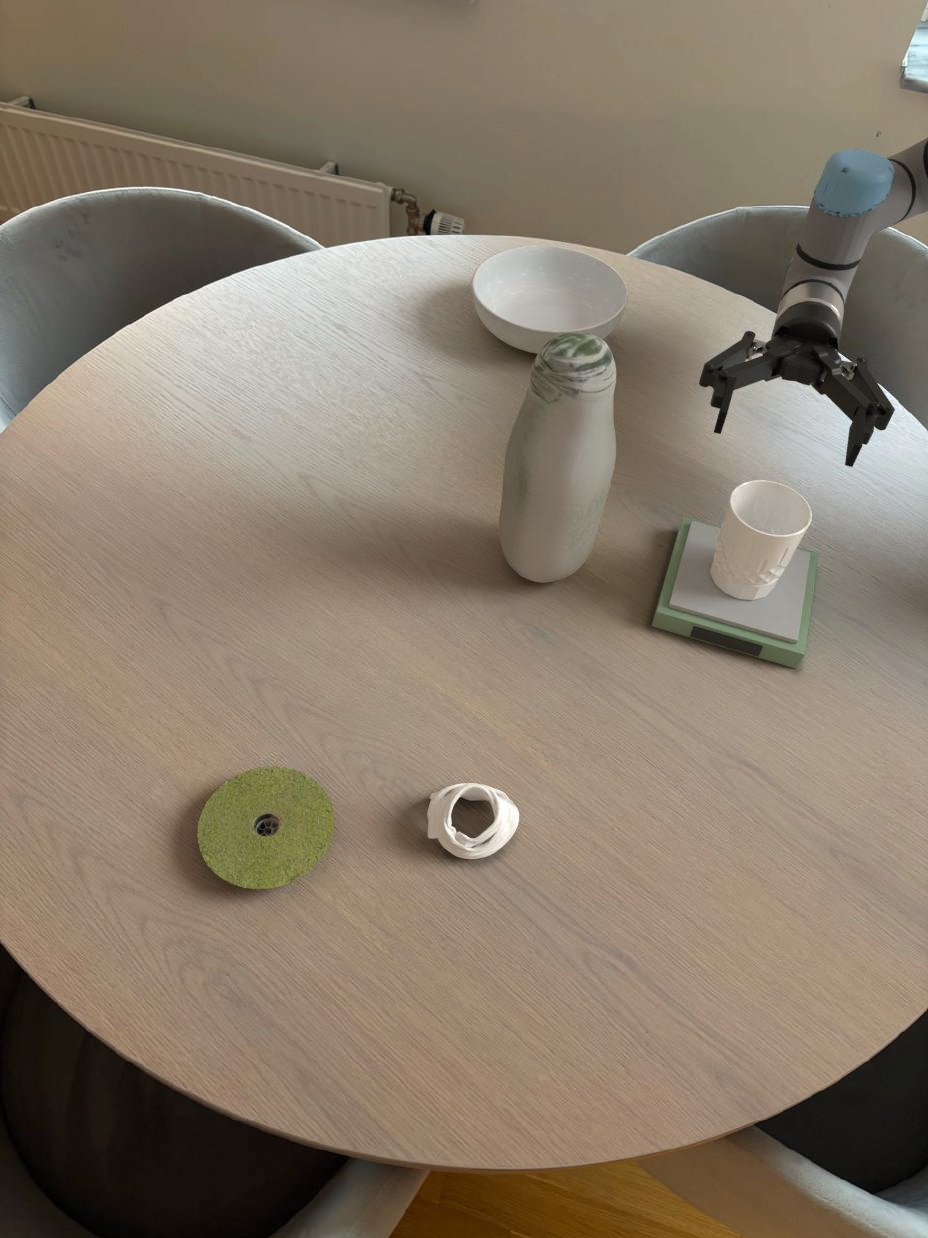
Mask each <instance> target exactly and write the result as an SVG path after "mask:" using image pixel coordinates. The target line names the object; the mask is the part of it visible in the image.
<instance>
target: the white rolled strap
mask: <svg viewBox="0 0 928 1238" xmlns="http://www.w3.org/2000/svg"><path fill="white" fill-rule="evenodd" d="M459 798H463V799H464V800H467V801H472V802H473V801H487V802H489V804H490V805H491V806H490V807H491V808H492V811H493V812H492V813H493V817H494V821H493V822H492V824H491V825H489V826H488V827H487V828H486V829H485V830H484V831H483V832H482V833H480V834H479V835H478V836H477V837H474V838H472V837H469V836H467V835H466V834H464V833H463V832H461V831H457V830H456V828H455V827H454V826H452V824H453V822H452V812H453V808H454V806H455V805H456V803H457V802H458V800H459ZM429 799H430V802H429V804H428V809H427V812H426V817H427V822H428V823H427V838H428V839H433V840H434V839H437V841H438V842H439V844H440V845H441V846H442V847H443V848H444V849H445V850H446V851H448V852H449V853H450V854H452V855H453V856H454V857H457V858H460V859H463V860H465V859H467V860H478V859H484V858H487V857H489V856H491V855H493V854H496V853H497V852H498V851H499V850H500V849H502V848H503V847H504V846H505V845H506V844H507V843H508V842H509V841H510V840H511V838H512V837H513V836H514V834H515V832H516V830H517V828H518V825H519V822H520V812H519V809H518V807H517V806H516V805H515V803H514V802H513V800H511V798H509V797H508V795H507V794H506V793H505V792H504V791H502V790H500V789H498V788H495V787H491V786H489V785H487V784H484V783H476V782H468V783H464V782H463V783H456V784H452V785H449V786H446V787H443V788H442V789H440V790H439V791H436V792H433V793H431V794H430V796H429Z"/></svg>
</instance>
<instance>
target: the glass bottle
mask: <svg viewBox="0 0 928 1238" xmlns="http://www.w3.org/2000/svg"><path fill="white" fill-rule="evenodd" d="M530 369H531V370H530V374H529V381H528V385H527V389H526V393H525V396H524V399H523V402H522V404H521V406H520V408H519V411H518V413H517V416H516V418H515V421H514V424H513V426H512V429H511V432H510V434H509V438H508V441H507V444H506V445H507V446H506V450H505V456H504V463H503V464H504V467H503V475H502V477H503V478H502V491H501V503H500V511H499V519H498V522H499V523H498V537H499V542H500V546H501V550H502V553H503V556H504V558H505V560H506V562H507V564H508V566H509V567H510V568H511V569H512V570H513V571H515V573H517V575H518V576H520V577H521V578H523V579H526V580H528V581H531V582H534V583H541V584H546V583H553V582H558V581H560V580H564V579H567V578H568V577H570V576H572V575H574V574H575V573H576V572H577V571H578V570H579V569H580V568H581V567H582V566H583V565H585V563H586V561H587V560H588V559H589V557H590V555H591V553H592V551H593V550H594V547H595V544H596V541H597V538H598V535H599V530H600V527H601V522H602V518H603V514H604V511H605V506H606V502H607V498H608V496H609V492H610V487H611V484H612V480H613V474H614V471H615V466H616V458H617V457H616V456H617V439H616V438H617V437H616V429H615V423H614V394H615V388H616V383H617V366H616V361H615V359H614V356H613V353H612V349H611V348H610V346H609V345H608V344H607V342H606V341H605V340H604V339H603V340H602V338H600V337H597V336H595V335H592V334H590V333H584V332H574V333H567V334H563V335H560V336H557V337H555V338H553V339H552V340H550V341H549V342H547V343H546V344H545V345H544V346H543V347H542V349H541V350H540V351H539V353H538V354H537V355H535V358H534V360H533V363H532V366H531V368H530Z"/></svg>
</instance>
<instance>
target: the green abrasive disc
mask: <svg viewBox="0 0 928 1238" xmlns="http://www.w3.org/2000/svg"><path fill="white" fill-rule="evenodd" d="M334 831H335V813H334V809H333V805H332V802H331V800H330V797H329V796H328V794H327V792H326V791H325V790H324V788H323V787H322V786H321V785H320V784H319V783H318V782H317V781H316V780H315V779H314V778H312V777H310V776H309V775H307V774H306V773H303V772H301V771H298V770H297V769H292V768H288V767H285V766H274V765H273V766H262V767H260V766H259V767H255V768H251V769H250V770H246V771H243V772H241V773H239V774H237V775H235V776H233V777H231V778H229V779H228V780H226V781H225V782H224V783H223V784H222V785H220V786H219V787H218V788H217V789H215V791H214V792H213V793H212V794H211V796H210V797H209V798H208V799H207V801H206V803H205V805H204V807H203V809H202V811H201V813H200V817H199V819H198V823H197V834H196V835H197V836H196V837H197V843H198V849H199V851H200V854H201V856H202V859H203V861H204V862H205V864H206V865H207V867H208V868H210V870H211V872H213V873H214V874H215V875H216V876H218V877H219V878H220V879H222V880H224V881H226V882H228V883H229V884H231V885H233V886H238V887H240V888H242V889H252V890H262V889H263V890H267V889H274V888H279V887H282V886H285V885H288V884H291V883H293V882H295V881H298V879H301V878H302V877H304V876H305V875H306V874H307V873H309V872H311V870H312V869H314V868H315V866H316V865H317V864H318V863H319V862H320V860H321V859H323V857H324V855H325V854H326V852H327V851H328V850H329V849H328V848H329V846H330V845H331V842H332V839H333V836H334Z"/></svg>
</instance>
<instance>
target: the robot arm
mask: <svg viewBox="0 0 928 1238" xmlns="http://www.w3.org/2000/svg"><path fill="white" fill-rule="evenodd" d="M926 212H928V137H926V138H924V139H923V140H920V141H919V142H916V143H915V144H913V145H911V146H909V147H907V148H905V149H904V150H901V151H899V152H897V153H895V154H892V155H889V156H887V157H885V156H884V155H882V154H879V153H877V152H874V151H872V150H867V149H861V148H855V149H841V150H839V151H837V152H835V153H833V154H832V155H831V156H830V157H829V158H828V160H827V161H826V163H825V165H824V168H823V170H822V173H821V175H820V177H819V179H818V181H817V184H816V185H815V187H814V191H813V196H812V199H811V202H810V205H809V208H808V211H807V214H806V217H805V220H804V223H803V226H802V229H801V232H800V235H799V239H798V242H797V244H796V246H795V250H794V253H793V255H792V257H791V260H790V261H789V263H788V265H787V267H786V272H785V274H784V275H783V281H782V284H783V286H782V290H781V297H780V301H779V303H778V306H777V307H778V308H777V312H776V315H775V320H774V324H773V328H772V332H771V336H770V340H768V341H767V342H765V341H762V340H759V339H756V336H757V335H756V332H754V331H752V330H746V331H745V332H744V333H743V336H742V337H741V339H740V340H739V341H737V342H735V343H734V344H733V345H730V346H729V347H728V348H726V349H724V350H723V351H722V352H720V353H719V354H717V355H715V356H713V358H711V359H709V360H708V361H706V362H705V363H704V365H703V368H702V371H701V374H700V376H699V377H700V378H699V381H698V385H699V386H700V387H702V388H709V387H710V388H712V389H713V392H712V395H711V399H710V407H711V408H716V409H719V410H718V414H717V418H716V422H715V425H714V429H713V433H714V434H718V435H721V434H722V431H723V428H724V425H725V422H726V419H727V415H728V412H729V410H730V405H731V402H732V399H733V398H732V397H733V394H734V391H737V390H739V389H742V388H745V387H747V386H750V385H753V384H756V383H758V382H761V381H764V382H770V381H773V380H775V379H778V378H781V380H783V381H788V382H796V383H799V384H801V385H804V386H811V387H812V388H813V389H814V390H815V391H816V392H817V393H818V394H819V395H821V396H824V395H825V396H826V397H827V398H828V399H829V400H830V401H831V402H832V403H833V404H834V405H835V406H836V407H837V408H838V409H840V411H841V412H842V413H843V414H844V415H845V416H846V417H847V418H848V419H849V420H850V421H851V424H850V426H849V430H848V438H847V446H846V453H845V460H844V461H845V462H844V466H846V467H851V468H853V467H854V465H855V462H856V461H857V458H858V456H859V454H860V452H861V450H862V448H863V445H865V446H866V445H868V444H869V443H870V440H871V438H872V436H873V434H874V432H875V431H874V430H875V429H876V430H878V431H885V430H886V429H887V428H888V425H889V423H890V421H891V419H892V417H893V415H894V413H895V411H896V409H895V407H894V406H893V404H892V403H891V401H890V399H889V398H888V397H887V395H886V394H885V392H884V391H883V389H882V387H881V386H880V385H879V383H878V382H877V379H875V377H874V376H873V374H872V373H871V371H870V370H869V362H868V359H867V358H866V357H864V356H857V357H856V359H855V360H854V362H853V361H848V360H842V357H841V356H840V354H839V351H840V350H839V349H840V341H841V335H842V330H843V329H842V328H843V321H844V315H845V313H844V312H845V306H846V300H847V296H848V293H849V290H850V287H851V284H852V283H853V280H854V277H855V275H856V272H857V269H858V267H859V264H860V262H861V260H862V257H863V255H864V253H865V250H866V248H867V246H868V243H869V240H870V238H871V236H872V235H874V234H877V233H879V232H881V231H883V230H886V229H888V228H890V227H892V226H895V225H897V224H899V223H900V222H901V223H902V222H903V221H905V220H908V219H911V218H913V217H916V216H918V215H922V214H924V213H926ZM760 354H761V355H760ZM756 355H760V356H757V357H755V358H753V357H754V356H756Z"/></svg>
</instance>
